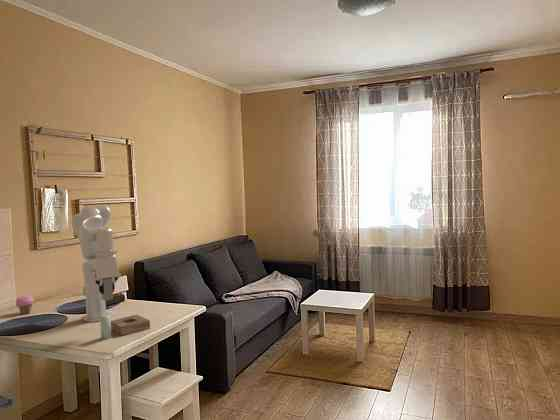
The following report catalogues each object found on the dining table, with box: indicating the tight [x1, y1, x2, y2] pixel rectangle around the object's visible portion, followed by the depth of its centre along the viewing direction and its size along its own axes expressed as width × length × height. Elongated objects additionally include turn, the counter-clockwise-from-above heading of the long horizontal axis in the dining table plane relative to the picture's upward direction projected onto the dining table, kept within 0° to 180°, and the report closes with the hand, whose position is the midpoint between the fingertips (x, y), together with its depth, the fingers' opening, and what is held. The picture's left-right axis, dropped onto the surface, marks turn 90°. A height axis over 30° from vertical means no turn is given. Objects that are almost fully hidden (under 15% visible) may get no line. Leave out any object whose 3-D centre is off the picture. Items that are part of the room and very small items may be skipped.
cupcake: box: [15, 295, 35, 315], centre depth 236 cm, size 9×9×10 cm
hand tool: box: [105, 293, 126, 307], centre depth 248 cm, size 23×5×6 cm, turn 151°
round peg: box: [99, 314, 112, 340], centre depth 193 cm, size 4×4×10 cm
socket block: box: [111, 314, 151, 337], centre depth 205 cm, size 14×14×4 cm
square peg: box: [101, 278, 114, 301], centre depth 200 cm, size 4×4×10 cm
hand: (107, 292), depth 200 cm, fingers closed on square peg, 4 cm apart
